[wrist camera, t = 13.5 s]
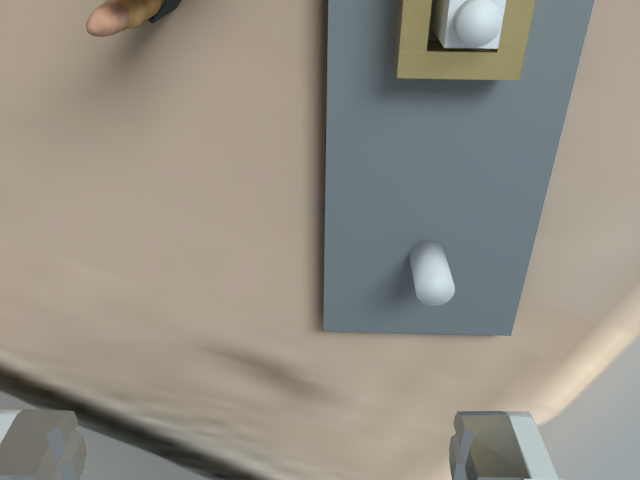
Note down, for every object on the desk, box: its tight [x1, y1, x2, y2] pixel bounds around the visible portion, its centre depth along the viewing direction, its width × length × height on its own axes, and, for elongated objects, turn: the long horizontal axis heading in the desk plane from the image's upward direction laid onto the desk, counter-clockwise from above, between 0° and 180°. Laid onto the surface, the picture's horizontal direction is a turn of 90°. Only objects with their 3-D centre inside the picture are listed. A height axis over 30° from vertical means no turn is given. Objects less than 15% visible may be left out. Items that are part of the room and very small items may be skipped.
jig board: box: [323, 0, 594, 336], centre depth 32 cm, size 14×32×6 cm, turn 179°
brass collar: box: [393, 0, 535, 80], centre depth 29 cm, size 6×6×2 cm
